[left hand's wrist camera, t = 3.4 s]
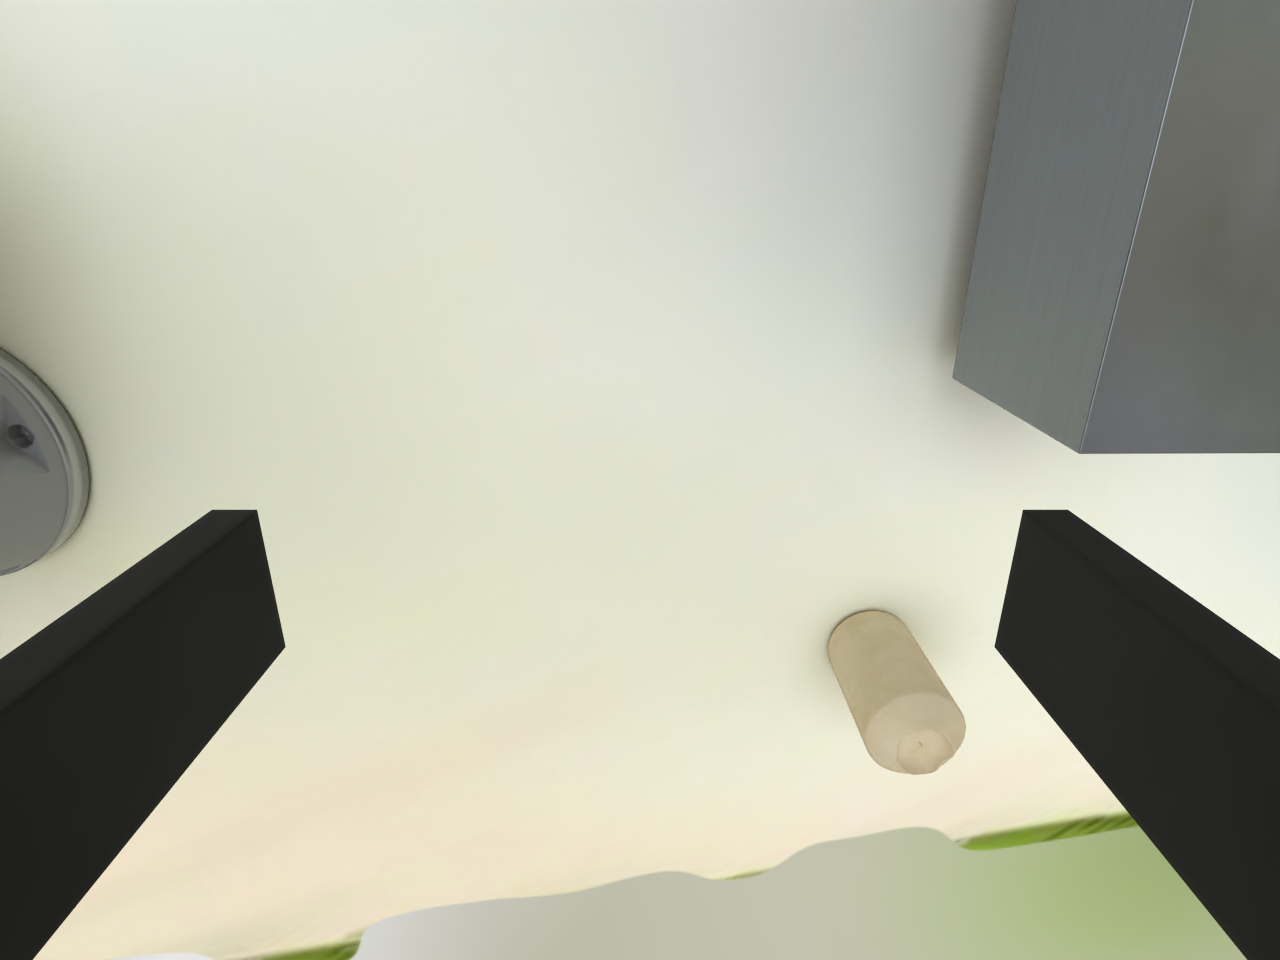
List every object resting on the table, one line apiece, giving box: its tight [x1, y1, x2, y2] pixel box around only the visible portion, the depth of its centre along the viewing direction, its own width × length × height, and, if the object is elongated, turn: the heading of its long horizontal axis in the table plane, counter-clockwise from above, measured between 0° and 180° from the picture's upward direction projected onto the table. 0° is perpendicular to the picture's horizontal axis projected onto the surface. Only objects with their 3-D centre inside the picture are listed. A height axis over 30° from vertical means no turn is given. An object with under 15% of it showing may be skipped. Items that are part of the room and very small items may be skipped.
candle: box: [828, 611, 966, 775], centre depth 43 cm, size 6×6×10 cm
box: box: [953, 0, 1280, 454], centre depth 27 cm, size 25×8×12 cm, turn 0°
